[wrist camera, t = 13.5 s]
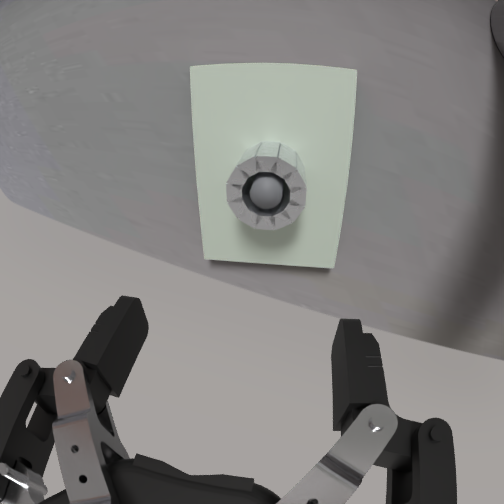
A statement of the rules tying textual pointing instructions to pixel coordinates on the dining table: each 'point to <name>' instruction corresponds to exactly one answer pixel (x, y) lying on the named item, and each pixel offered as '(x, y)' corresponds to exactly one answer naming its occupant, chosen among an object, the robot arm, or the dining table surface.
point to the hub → (282, 164)
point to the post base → (276, 130)
